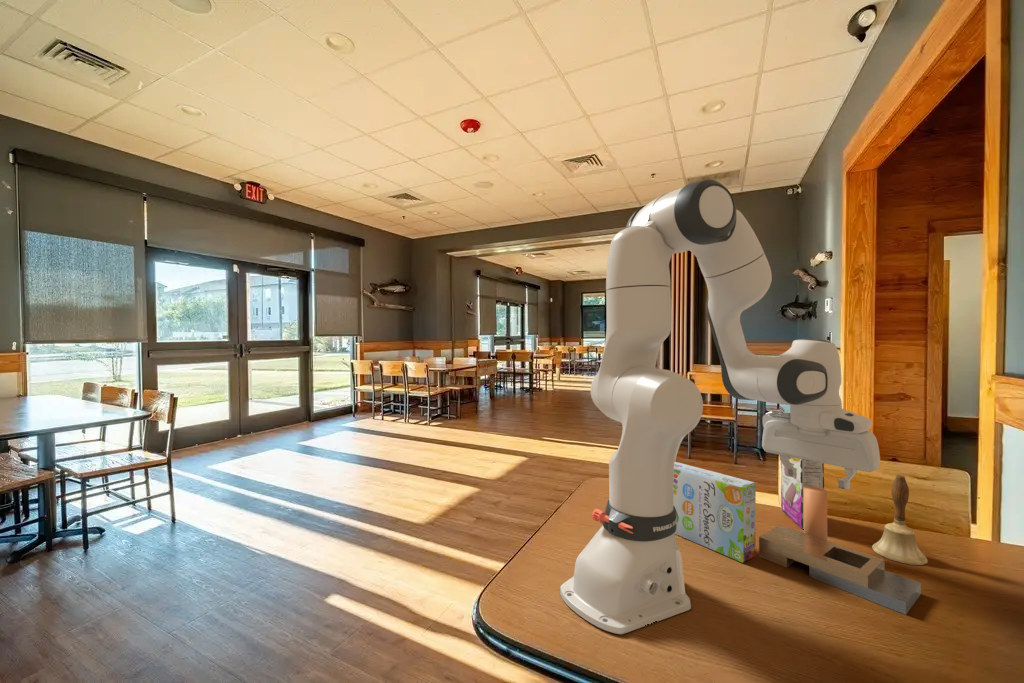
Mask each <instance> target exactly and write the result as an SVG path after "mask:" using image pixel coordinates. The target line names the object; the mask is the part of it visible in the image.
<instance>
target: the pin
mask: <svg viewBox="0 0 1024 683" xmlns="http://www.w3.org/2000/svg"><path fill="white" fill-rule="evenodd" d="M803 533H805V534H808V535H812V536H815V537H818V538H821V539H824V540H827V541H828V491H827V490H826V489H825V488H824V489H821V488H818V487H804V530H803Z"/></svg>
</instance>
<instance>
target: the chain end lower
mask: <svg viewBox="0 0 1024 683" xmlns="http://www.w3.org/2000/svg"><path fill="white" fill-rule="evenodd" d="M832 559H834V560H837V561H840V562H843V563H845V564H848V565H851V566H854V567H857V568H861V566H858V565H855V564H852V563H850V562H847V561H844V560H841V559H838V558H835V557H834V558H832ZM808 566H809V565H808ZM808 568H809V570H808V571H809V574H808V575H809V576H808V577H809V578H812V579H814V580H817V581H818V582H819V581H820V582H822V583H824V584H827V585H830V586H833V587H834V588H837V589H839V590H841V591H845V592H847V593H850V594H852V595H855V596H857V597H860V598H862V599H865V600H866V601H867V600H868V601H870V602H872V603H875V604H878V605H879V606H883V607H885V608H888V609H890V610H892V611H895V612H898V613H899V614H900V613H901V614H903V615H905V616H907V614H908V613H909V611H911V609H912V608H913V606H914V605H915V603H916V602H917V600H918V599H919V598H920V596H921V595H922V583H921V582H919V581H916V580H914V579H911V578H908V577H904V576H902V575H899V574H895V573H893V572H890V571H887V570H885V571H884V572H883V573H882V574H881V575H880V576H879V577H878V578H877V579H876V580H875V581H874V582H873V583H872V584H871V585H870V586H869V587H868V588H867V587H864V586H861V585H859V584H856V583H853V582H851V581H848V580H845V579H843V578H840V577H838V576H835V575H832V574H830V573H827V572H824V571H822V570H819V569H816V568H814V567H811V566H809V567H808Z"/></svg>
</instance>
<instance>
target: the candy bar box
mask: <svg viewBox="0 0 1024 683" xmlns="http://www.w3.org/2000/svg"><path fill="white" fill-rule="evenodd" d="M789 461H790V463H791V465H792V467H793V468H797V472H796V473H797V476H796V477H795V478H793V477H788V476H786V468H785V467H784V465H783V464H782V462H781V461H780V462H781V464H780V465H781V510H782V511H783V512H784V513H785V514H786V515H787V516H788V517H789V518H790V519H791V520H792V521H793V522H794V523H795V524H796V525H798V527H799V528H800V529H801V530H803V529H804V487H818V488H821V489H824V490H825V470H824V469H825V464H824V463H819V462H814V461H809V460H804V459H799V458H794V457H791V459H789Z"/></svg>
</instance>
